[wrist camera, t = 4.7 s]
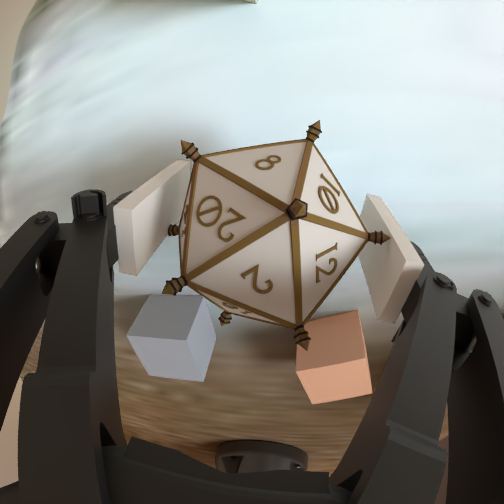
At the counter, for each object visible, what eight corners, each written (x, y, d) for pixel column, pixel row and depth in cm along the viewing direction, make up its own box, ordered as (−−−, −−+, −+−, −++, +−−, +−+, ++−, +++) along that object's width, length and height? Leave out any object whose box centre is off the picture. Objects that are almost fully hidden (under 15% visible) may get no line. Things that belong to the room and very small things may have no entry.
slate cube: (216, 337, 27) (203, 381, 22) (167, 334, 27) (148, 375, 23) (204, 294, 24) (186, 340, 20) (150, 293, 25) (126, 335, 21)
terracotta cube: (365, 347, 25) (372, 393, 21) (312, 358, 27) (312, 404, 22) (357, 309, 23) (365, 357, 19) (297, 322, 24) (295, 371, 20)
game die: (249, 192, 20) (107, 260, 14) (303, 79, 13) (98, 106, 7) (345, 296, 17) (220, 413, 12) (447, 205, 11) (325, 378, 5)
